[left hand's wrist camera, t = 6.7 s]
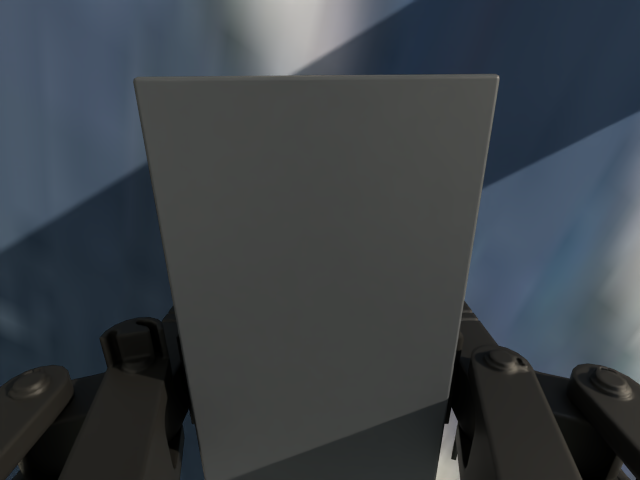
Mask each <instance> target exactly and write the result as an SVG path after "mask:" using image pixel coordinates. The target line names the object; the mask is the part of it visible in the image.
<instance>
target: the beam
mask: <svg viewBox="0 0 640 480" xmlns="http://www.w3.org/2000/svg"><path fill="white" fill-rule="evenodd" d="M499 80H500V79H499V76H498V75H496V74H428V75H308V76H189V77H137V78H135V79H134V81H133V83H134V88H135V94H136V99H137V105H138V110H139V116H140V122H141V127H142V133H143V138H144V144H145V149H146V155H147V160H148V166H149V172H150V177H151V183H152V188H153V194H154V199H155V205H156V210H157V216H158V222H159V227H160V233H161V238H162V244H163V249H164V255H165V260H166V266H167V272H168V277H169V283H170V288H171V294H172V299H173V305H174V310H175V316H176V322H177V327H178V333H179V338H180V344H181V349H182V355H183V360H184V366H185V372H186V377H187V383H188V388H189V394H190V399H191V405H192V410H193V416H194V422H195V427H196V433H197V438H198V444H199V449H200V455H201V461H202V466H203V472H204V477H205V480H436V473H437V467H438V461H439V455H440V448H441V442H442V436H443V430H444V423H445V417H446V411H447V405H448V398H449V392H450V386H451V380H452V373H453V367H454V361H455V355H456V348H457V342H458V336H459V330H460V323H461V317H462V311H463V305H464V298H465V292H466V286H467V280H468V273H469V267H470V261H471V255H472V248H473V242H474V236H475V230H476V223H477V217H478V211H479V205H480V198H481V192H482V186H483V180H484V173H485V167H486V161H487V155H488V148H489V142H490V136H491V130H492V123H493V117H494V111H495V105H496V98H497V92H498V86H499Z"/></svg>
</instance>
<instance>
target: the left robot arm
mask: <svg viewBox="0 0 640 480" xmlns="http://www.w3.org/2000/svg"><path fill="white" fill-rule="evenodd" d="M99 339H100V342H101V346H102V349H103V353H104V357H105V360H106V364H107V367H108V368H107V371H106V372H104V373H101V374H97V375H92V376H87V377H83V378H78V379H74V380H71V378H70V375H69V372H68V370H67V369H65V368H64V367H63V366H57V365H50V366H42V367H38V368H34V369H31V370H28V371H26V372H24V373H22V374H20V375H18V376H16V377H14V378H12V379H11V380H9V381H8V382H7V383H5V384H4V385H2V386H1V387H0V480H5V479H6V478H7V477H8V476H9V474H10V473H11V472H12V471H13V470H14V468H15V467H16V466H17V465H18V466H19V468H20V471H19V472H18V473H17V474H16V476H15V477H14V478H13V479H12V480H180V473H181V464H182V455H183V447H184V438H185V437H184V430H183V425H182V423H183V421H184V418H185V416H186V414H187V412H188V409H189V411H190V416H191V422H192V424H195V422H194V416H193V410H192V405H191V399H190V394H189V388H188V383H187V377H186V372H185V366H184V360H183V355H182V349H181V344H180V338H179V333H178V327H177V322H176V316H175V310H174V305H173V307H172V308H171V309H170V311H169V314H167V315H166V316H165V317H164V319H163V322H161V321H159V320H158V319H155V318H151V317H141V318H134V319H130V320H126V321H124V322H121V323H119V324H116V325H114V326H113V327H111V328H110V329H108V330H107V331H105V332H104V334H103V335H102V336H101V337H100V338H99ZM451 407H452V409H453V411H454V414H455V416H456V418H457V420H458V425H457V430H456V435H455V440H454V446H453V451H452V458H451V459H453V460H456V457H457V454H458V463H459V472H460V480H630V479H629V478H628V477H627V476H626V474H625V473H624V472H623V471H622V470H621V467H622V465H623V463H624V464H625V465H626V466H627V468H628V469H629V470H630V471H631V472H632V474H633V475H634V476H635V477H636V480H640V385H639V384H638V383H637V382H635V381H634V380H632V379H631V378H630V377H628V376H626V375H624V374H622V373H620V372H618V371H616V370H614V369H611V368H607V367H605V366H601V365H595V364H581V365H577V366H576V367H575V368H574V369H573V370H572V374H571V377H570V379H569V378H564V377H560V376H555V375H550V374H546V373H541V372H538V371H534V370H533V368H532V366H531V365H530V364H529V362H528V361H527V360H526V359H525V358H524V357H522V356H521V355H520V354H518V353H517V352H514V351H512V350H510V349H508V348H505V347H501V346H498V344H497V343H496V342H495V341H494V339H493V338H492V337H491V335H490V334H489V333H488V331H487V330H486V329H485V327H484V326H483V325H482V323H481V322H480V321H478V318H477V317H476V315H475V314H474V313H472V310H471V309H470V308H469V306H468V305H467V304H466V302H465V301H464V305H463V311H462V317H461V323H460V330H459V336H458V342H457V348H456V355H455V361H454V367H453V373H452V380H451V386H450V392H449V398H448V405H447V411H446V417H445V423H444V424H448V423H449V418H450V412H451Z"/></svg>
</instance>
